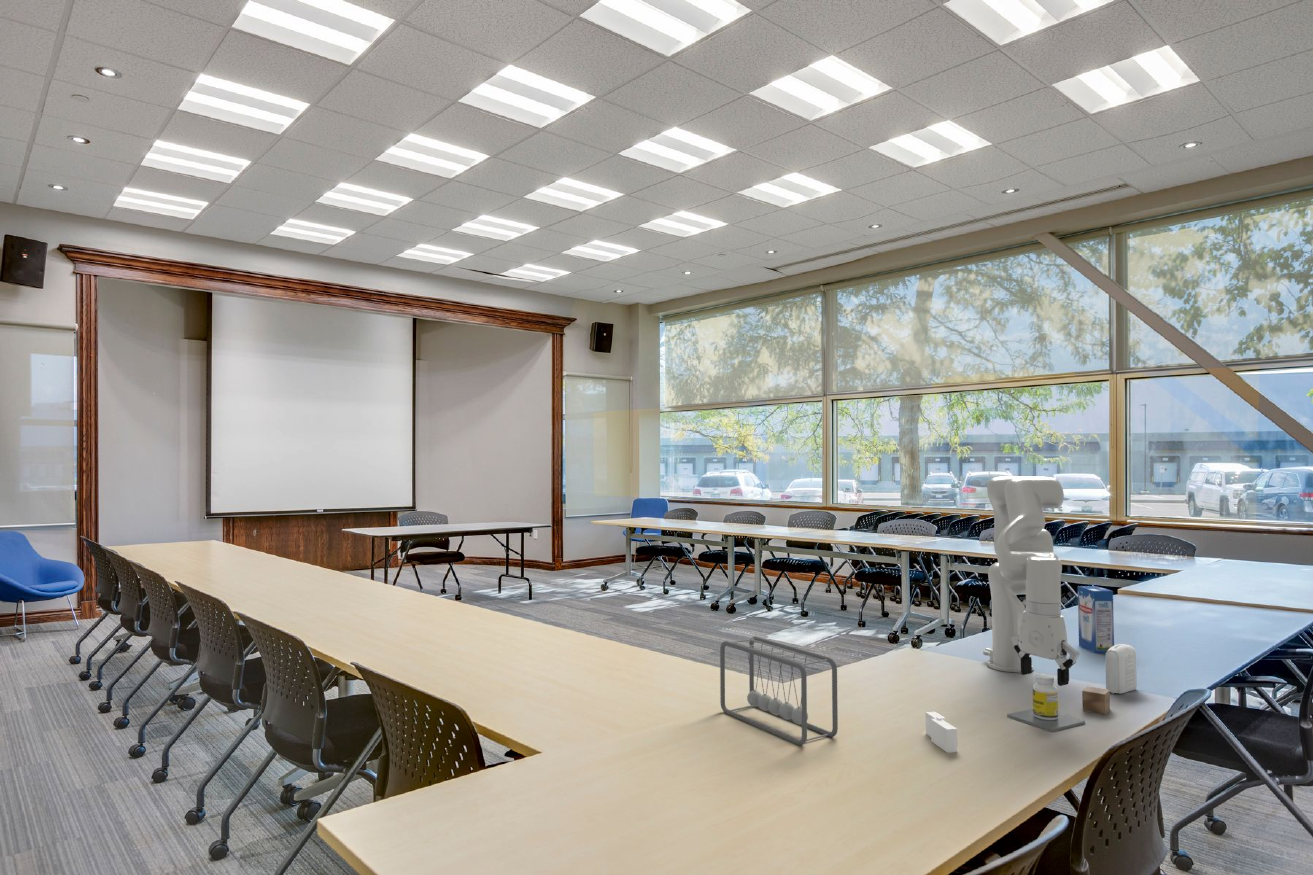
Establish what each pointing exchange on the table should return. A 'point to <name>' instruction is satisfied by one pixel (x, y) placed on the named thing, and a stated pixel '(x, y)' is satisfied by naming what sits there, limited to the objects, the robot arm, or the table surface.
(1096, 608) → the milk carton
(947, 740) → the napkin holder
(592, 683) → the table surface
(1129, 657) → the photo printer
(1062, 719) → the slate coaster
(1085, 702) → the walnut block
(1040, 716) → the supplement bottle
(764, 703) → the newton's cradle
